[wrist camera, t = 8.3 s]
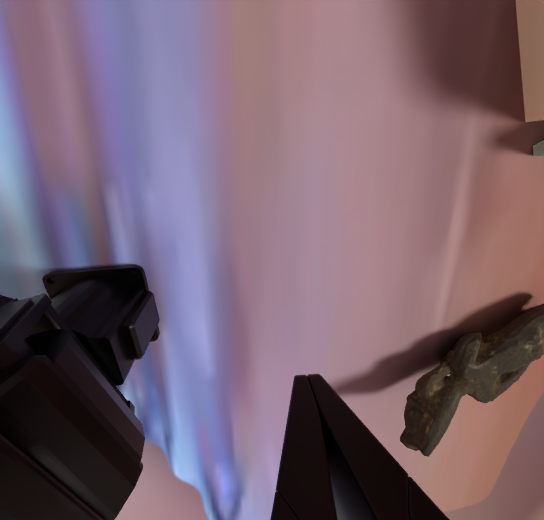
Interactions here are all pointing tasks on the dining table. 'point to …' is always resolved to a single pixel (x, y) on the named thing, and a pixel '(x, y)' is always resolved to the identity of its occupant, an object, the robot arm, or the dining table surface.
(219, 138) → the dining table surface
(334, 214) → the dining table surface
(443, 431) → the statue
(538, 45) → the bookend
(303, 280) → the dining table surface
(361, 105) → the dining table surface
